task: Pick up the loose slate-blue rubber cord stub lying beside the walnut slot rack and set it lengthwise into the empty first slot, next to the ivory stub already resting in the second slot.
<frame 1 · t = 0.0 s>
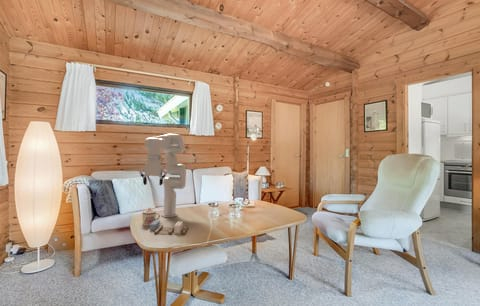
hand: (152, 184, 150), 31 cm above the table, fingers open, 9 cm apart
teacup with lid: (151, 224, 171), on the table
slot rack: (171, 232, 155), on the table
blue stub: (154, 229, 159), on the table
ivory stub: (178, 231, 155), point 1 cm above the table, touching slot rack
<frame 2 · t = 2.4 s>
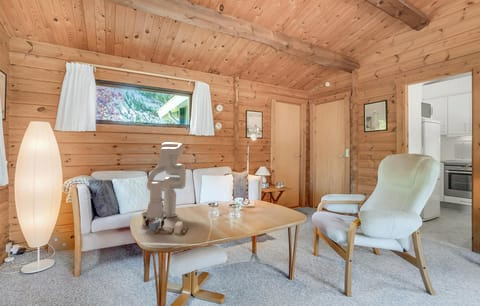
hand: (154, 226, 159), 2 cm above the table, fingers open, 9 cm apart
nothing on the table moved.
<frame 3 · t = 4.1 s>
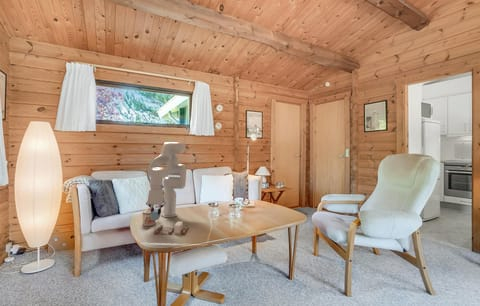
hand: (155, 214, 160), 10 cm above the table, fingers closed on blue stub, 3 cm apart
blue stub: (155, 218, 160), point 7 cm above the table, touching gripper
everything else where it was.
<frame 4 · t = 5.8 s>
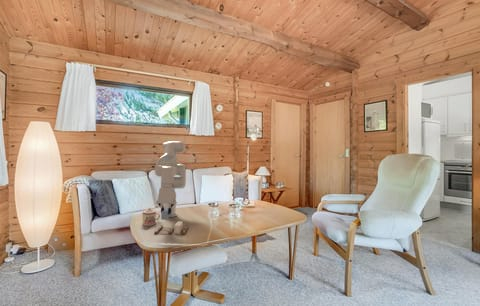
hand: (165, 213, 154), 12 cm above the table, fingers closed on blue stub, 3 cm apart
blue stub: (165, 217, 154), point 10 cm above the table, touching gripper
everything else where it was.
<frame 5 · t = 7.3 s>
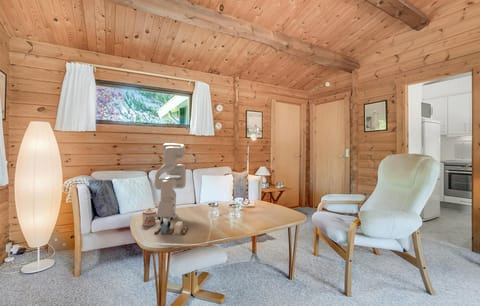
hand: (165, 227, 154), 3 cm above the table, fingers closed on blue stub, 3 cm apart
blue stub: (165, 230, 154), point 1 cm above the table, touching gripper, slot rack
everything else where it was.
when the fingers open (3 cm above the table, at t = 8.0 s): blue stub stays where it is, resting on slot rack.
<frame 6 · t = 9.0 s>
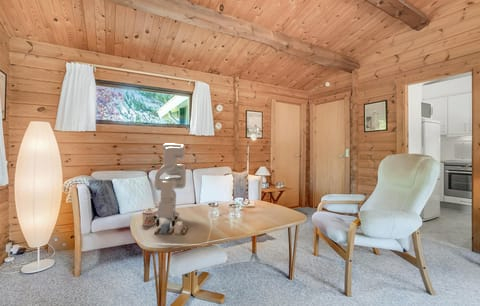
hand: (165, 226, 155), 4 cm above the table, fingers open, 9 cm apart
blue stub: (165, 230, 154), point 1 cm above the table, touching slot rack
everything else where it was.
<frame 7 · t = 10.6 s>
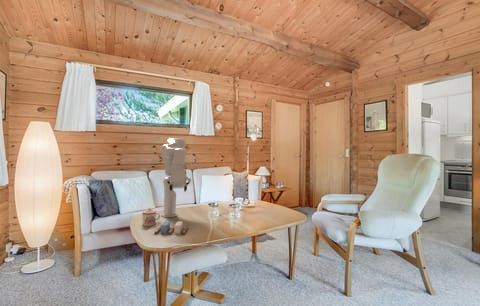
hand: (178, 190, 166), 25 cm above the table, fingers open, 9 cm apart
nothing on the table moved.
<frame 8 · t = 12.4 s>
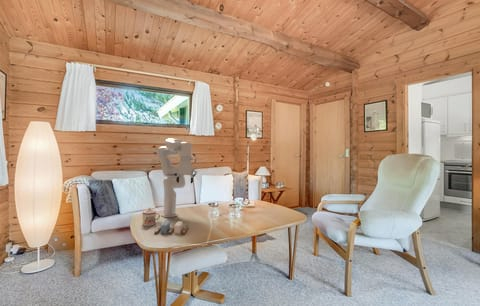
hand: (184, 182, 172), 30 cm above the table, fingers open, 9 cm apart
nothing on the table moved.
at the end: blue stub inside the target area on the slot rack (0.1 cm from its centre), point 1.0 cm above the slot rack's base; blue stub tilted 0°; the gripper is holding nothing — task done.
